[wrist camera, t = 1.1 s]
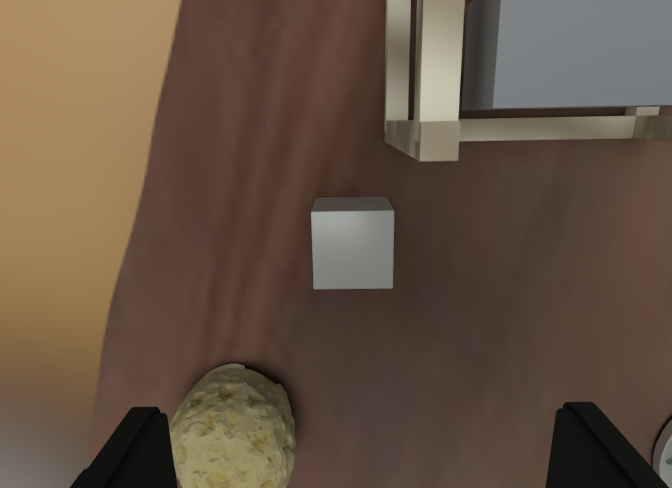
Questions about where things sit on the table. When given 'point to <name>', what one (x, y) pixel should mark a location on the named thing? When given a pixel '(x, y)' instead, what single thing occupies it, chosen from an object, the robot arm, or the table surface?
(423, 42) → the frame
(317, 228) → the cube
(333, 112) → the table surface
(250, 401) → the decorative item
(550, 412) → the table surface
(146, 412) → the robot arm
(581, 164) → the table surface
